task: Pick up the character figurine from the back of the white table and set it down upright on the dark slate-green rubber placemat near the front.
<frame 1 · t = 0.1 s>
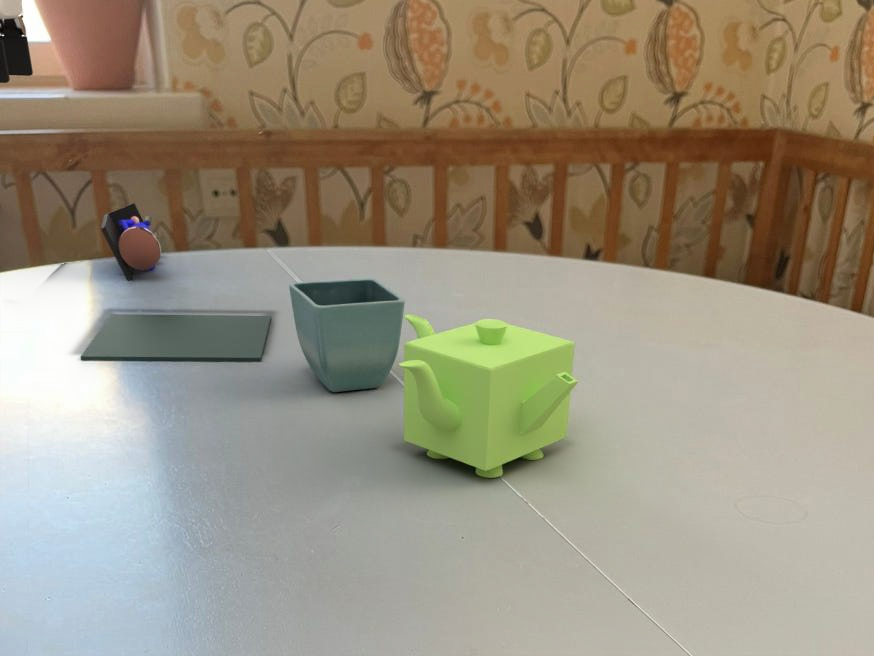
hand: (6, 78, 118), 23 cm above the table, tool pointing down, fingers open, 9 cm apart
kettle: (477, 455, 89), on the table
flower pot: (348, 385, 103), on the table
character figurine: (137, 271, 139), on the table
placemat: (182, 338, 114), on the table
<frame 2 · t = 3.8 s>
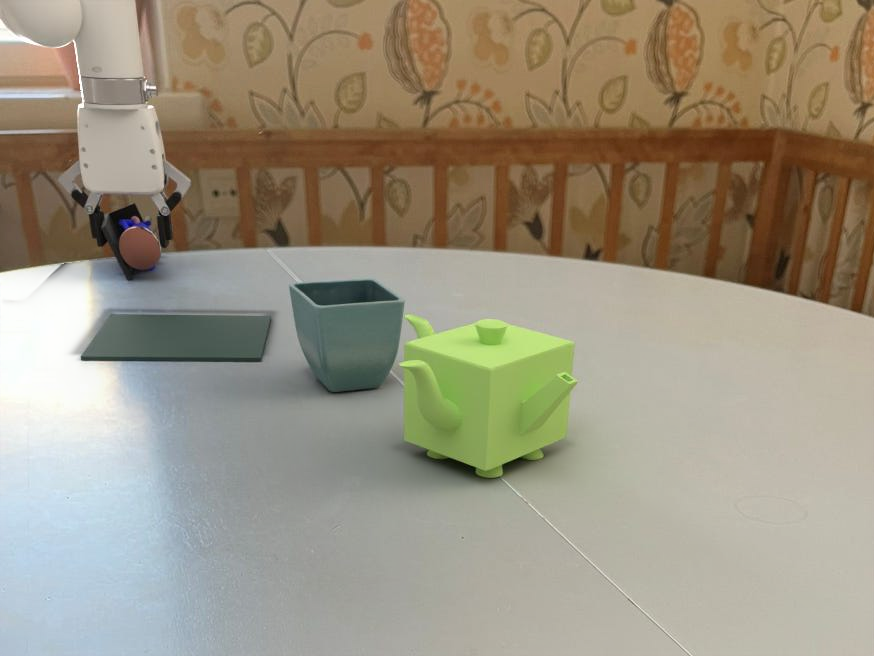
hand: (133, 244, 137), 3 cm above the table, tool pointing down, fingers closed on character figurine, 7 cm apart
character figurine: (137, 271, 139), on the table, touching gripper
everything else where it was.
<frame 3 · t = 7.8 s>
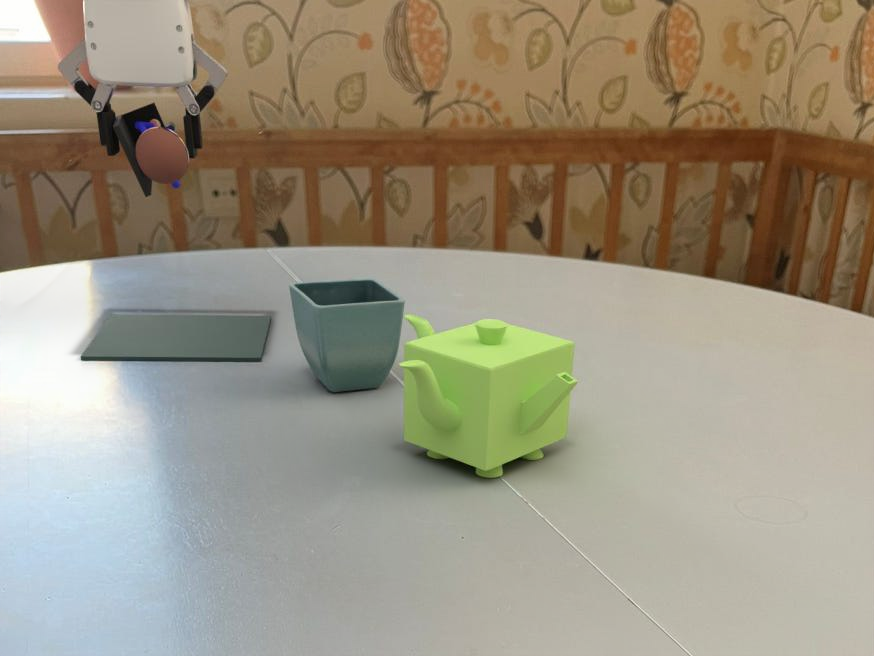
hand: (153, 154, 108), 18 cm above the table, tool pointing down, fingers closed on character figurine, 7 cm apart
character figurine: (157, 190, 110), point 14 cm above the table, touching gripper
everything else where it was.
when the fingers open (4 cm above the table, at t = 12.0 s): character figurine stays where it is, resting on placemat.
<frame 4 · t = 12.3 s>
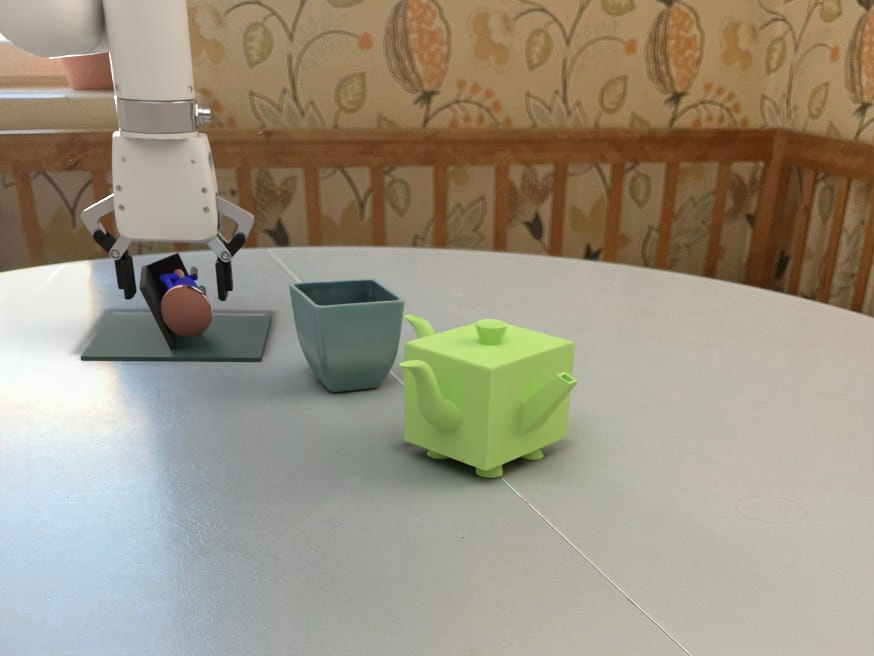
hand: (177, 297, 111), 4 cm above the table, tool pointing down, fingers open, 9 cm apart
character figurine: (181, 336, 114), resting on placemat
everything else where it was.
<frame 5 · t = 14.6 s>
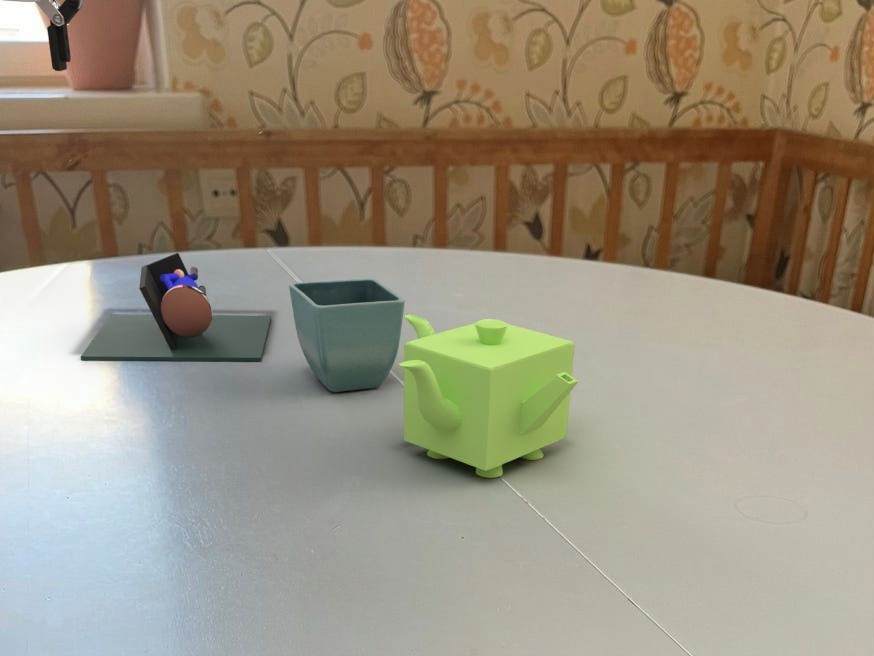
hand: (11, 66, 107), 25 cm above the table, tool pointing down, fingers open, 9 cm apart
nothing on the table moved.
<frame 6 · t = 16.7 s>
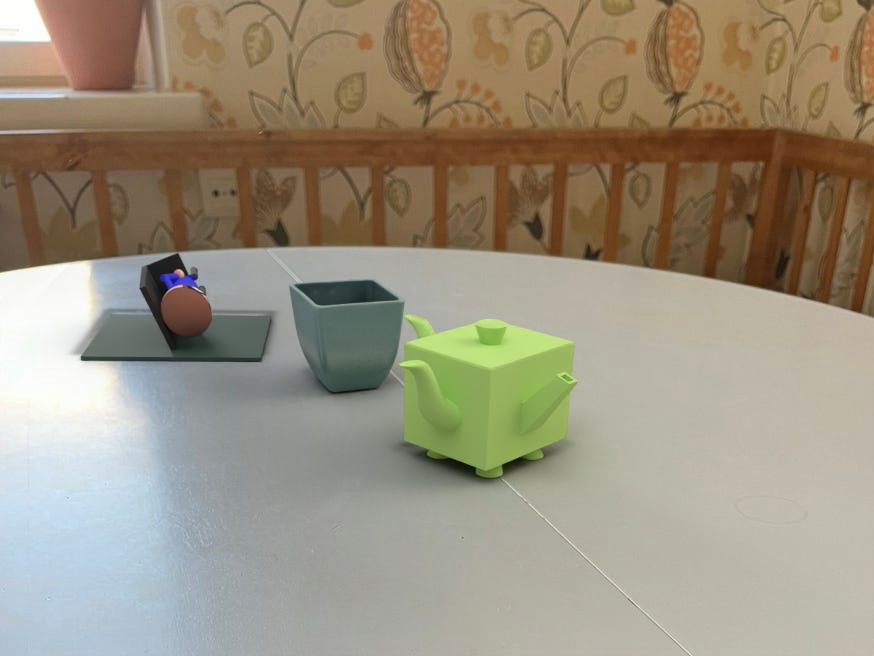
nothing on the table moved.
at the end: character figurine inside the target area on the placemat (0.1 cm from its centre), point 0.2 cm above the placemat's base; the gripper is holding nothing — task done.
